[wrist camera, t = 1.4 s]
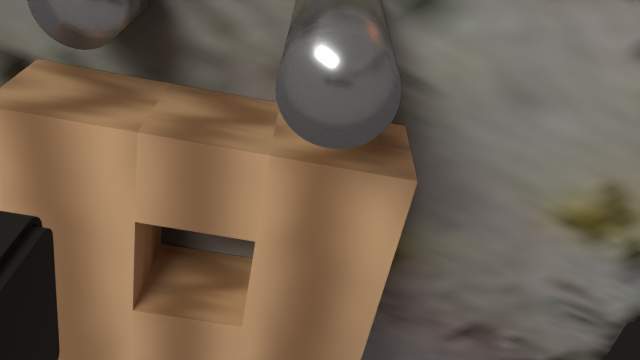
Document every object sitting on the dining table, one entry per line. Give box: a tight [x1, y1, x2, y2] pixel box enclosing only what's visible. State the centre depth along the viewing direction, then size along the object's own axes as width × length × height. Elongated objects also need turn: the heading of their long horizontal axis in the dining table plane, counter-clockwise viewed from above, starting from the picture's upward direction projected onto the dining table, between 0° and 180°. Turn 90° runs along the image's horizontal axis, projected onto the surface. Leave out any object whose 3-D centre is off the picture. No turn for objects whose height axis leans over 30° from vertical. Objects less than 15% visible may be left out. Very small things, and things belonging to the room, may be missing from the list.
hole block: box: [0, 59, 418, 360], centre depth 33 cm, size 20×16×6 cm
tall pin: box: [276, 0, 402, 149], centre depth 24 cm, size 4×4×12 cm
